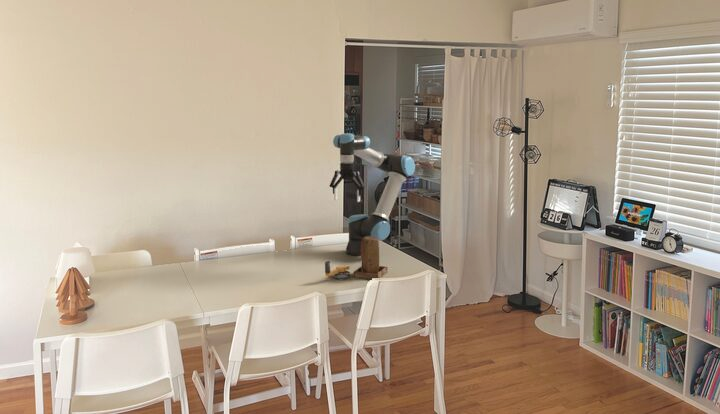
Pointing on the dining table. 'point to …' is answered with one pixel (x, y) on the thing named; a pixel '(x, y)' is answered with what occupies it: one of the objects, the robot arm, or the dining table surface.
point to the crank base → (341, 275)
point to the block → (370, 254)
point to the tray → (360, 273)
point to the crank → (335, 271)
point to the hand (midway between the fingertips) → (347, 200)
